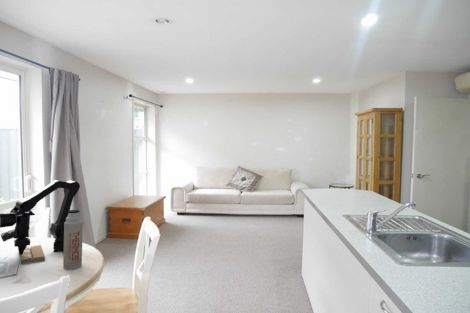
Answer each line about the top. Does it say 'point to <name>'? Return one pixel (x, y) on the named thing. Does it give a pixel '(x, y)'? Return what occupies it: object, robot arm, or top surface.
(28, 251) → the plank
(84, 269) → the top surface
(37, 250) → the floor panel
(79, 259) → the thermos bottle
